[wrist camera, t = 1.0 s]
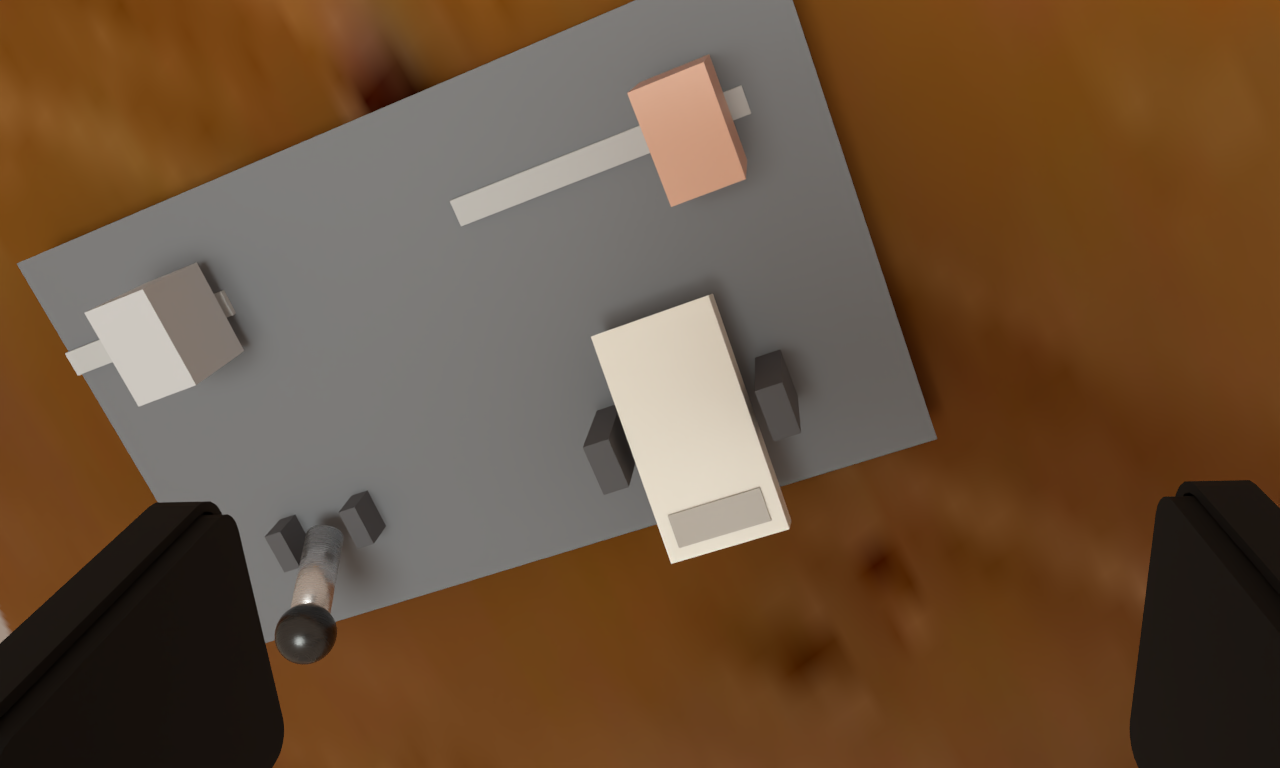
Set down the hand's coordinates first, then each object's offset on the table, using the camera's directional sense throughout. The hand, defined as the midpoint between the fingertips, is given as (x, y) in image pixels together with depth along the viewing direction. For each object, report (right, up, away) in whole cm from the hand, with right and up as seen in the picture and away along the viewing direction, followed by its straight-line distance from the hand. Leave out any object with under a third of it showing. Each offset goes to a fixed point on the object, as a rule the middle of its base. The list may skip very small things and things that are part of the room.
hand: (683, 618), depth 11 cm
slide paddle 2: (+1, +10, +18) cm, 20 cm away
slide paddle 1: (-14, +4, +22) cm, 26 cm away
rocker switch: (+1, +1, +20) cm, 20 cm away
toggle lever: (-11, -2, +24) cm, 26 cm away
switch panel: (-6, +4, +24) cm, 25 cm away
